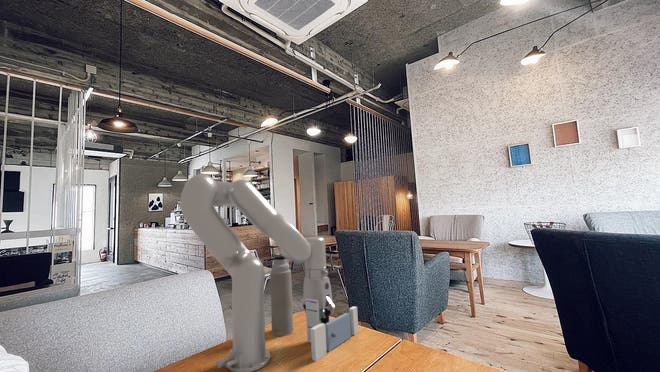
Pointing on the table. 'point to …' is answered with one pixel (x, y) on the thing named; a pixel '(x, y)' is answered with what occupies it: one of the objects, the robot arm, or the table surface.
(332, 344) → the door
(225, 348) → the table surface
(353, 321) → the wall
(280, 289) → the thermos bottle
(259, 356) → the robot arm
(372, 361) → the table surface
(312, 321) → the syrup box
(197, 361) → the table surface
